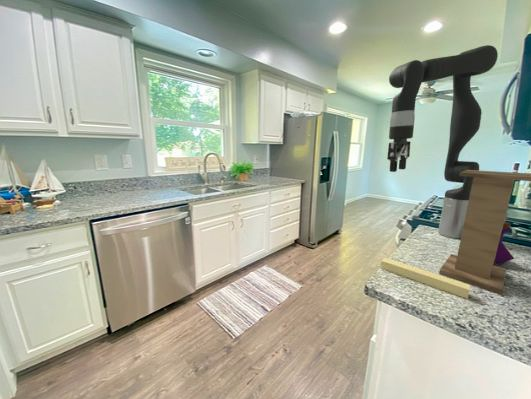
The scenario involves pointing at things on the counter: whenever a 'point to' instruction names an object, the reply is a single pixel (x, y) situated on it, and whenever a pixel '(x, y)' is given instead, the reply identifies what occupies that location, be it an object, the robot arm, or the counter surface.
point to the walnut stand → (483, 230)
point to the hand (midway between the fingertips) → (397, 170)
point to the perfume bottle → (502, 252)
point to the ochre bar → (427, 277)
